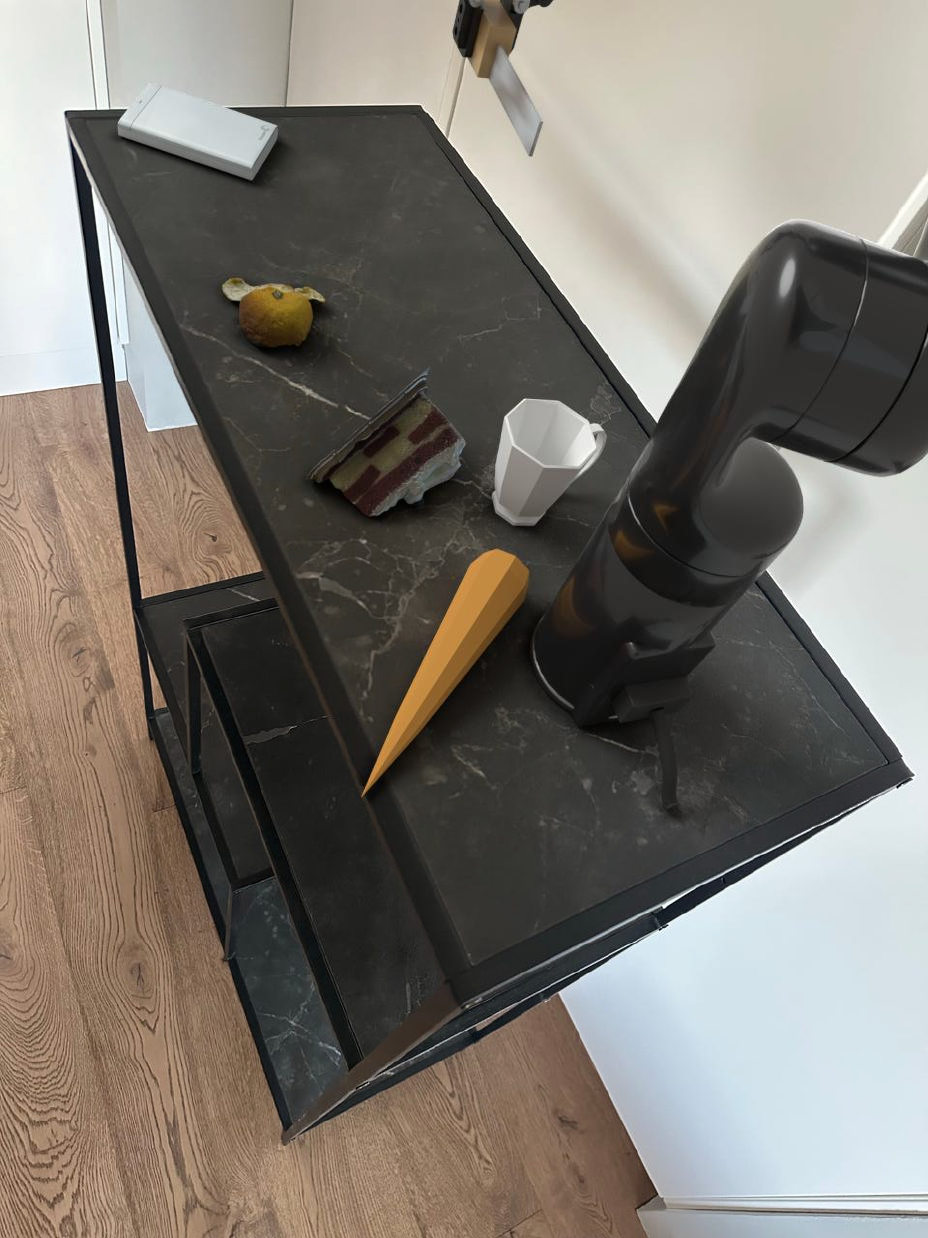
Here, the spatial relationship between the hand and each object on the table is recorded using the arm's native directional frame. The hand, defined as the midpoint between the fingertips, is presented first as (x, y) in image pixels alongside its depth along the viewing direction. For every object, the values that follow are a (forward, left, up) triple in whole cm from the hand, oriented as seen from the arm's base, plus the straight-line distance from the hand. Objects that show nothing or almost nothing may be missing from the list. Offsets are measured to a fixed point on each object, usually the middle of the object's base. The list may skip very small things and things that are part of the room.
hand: (479, 52), depth 71 cm
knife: (-5, 0, 0) cm, 5 cm away
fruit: (-10, +17, -17) cm, 26 cm away
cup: (-31, +1, -17) cm, 36 cm away
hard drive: (+11, +14, -16) cm, 24 cm away
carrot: (-45, +14, -14) cm, 49 cm away
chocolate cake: (-28, +12, -17) cm, 35 cm away
